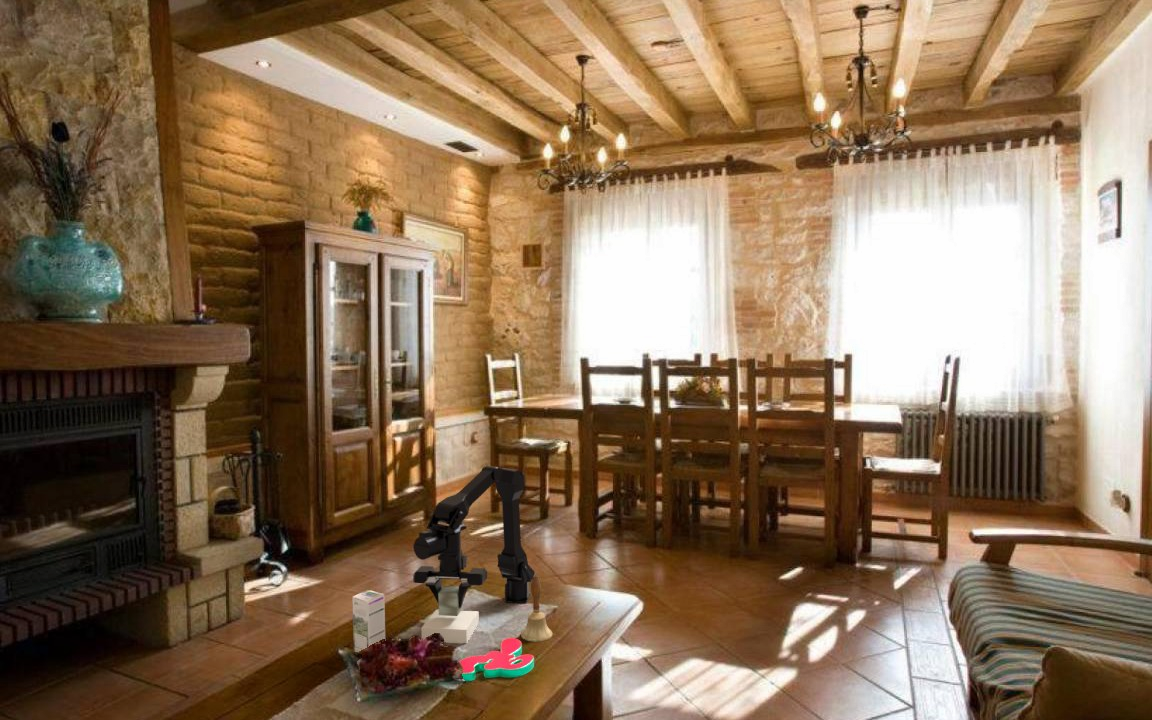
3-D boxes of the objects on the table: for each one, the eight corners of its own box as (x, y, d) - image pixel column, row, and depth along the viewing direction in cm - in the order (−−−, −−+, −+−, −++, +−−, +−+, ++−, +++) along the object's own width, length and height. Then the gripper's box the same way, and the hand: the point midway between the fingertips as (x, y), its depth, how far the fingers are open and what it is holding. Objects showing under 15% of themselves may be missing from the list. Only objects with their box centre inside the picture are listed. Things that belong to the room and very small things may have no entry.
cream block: (478, 625, 190) (478, 611, 190) (466, 645, 178) (466, 629, 178) (436, 623, 191) (436, 609, 191) (421, 642, 179) (421, 627, 179)
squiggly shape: (516, 645, 178) (516, 636, 178) (542, 672, 163) (541, 662, 163) (439, 662, 169) (439, 652, 169) (460, 692, 154) (459, 682, 154)
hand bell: (548, 643, 178) (547, 581, 177) (517, 640, 179) (516, 579, 179) (555, 629, 186) (555, 571, 185) (525, 627, 188) (525, 569, 187)
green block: (462, 608, 186) (462, 586, 186) (457, 616, 182) (456, 593, 181) (444, 607, 187) (444, 585, 187) (438, 615, 182) (438, 592, 182)
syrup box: (386, 649, 175) (385, 592, 174) (368, 658, 170) (367, 600, 169) (371, 644, 178) (370, 588, 177) (352, 653, 173) (351, 595, 172)
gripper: (491, 541, 191) (492, 597, 191) (426, 539, 193) (427, 594, 193) (481, 554, 180) (482, 613, 180) (412, 551, 182) (412, 610, 182)
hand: (450, 607), depth 184 cm, fingers closed on green block, 5 cm apart
